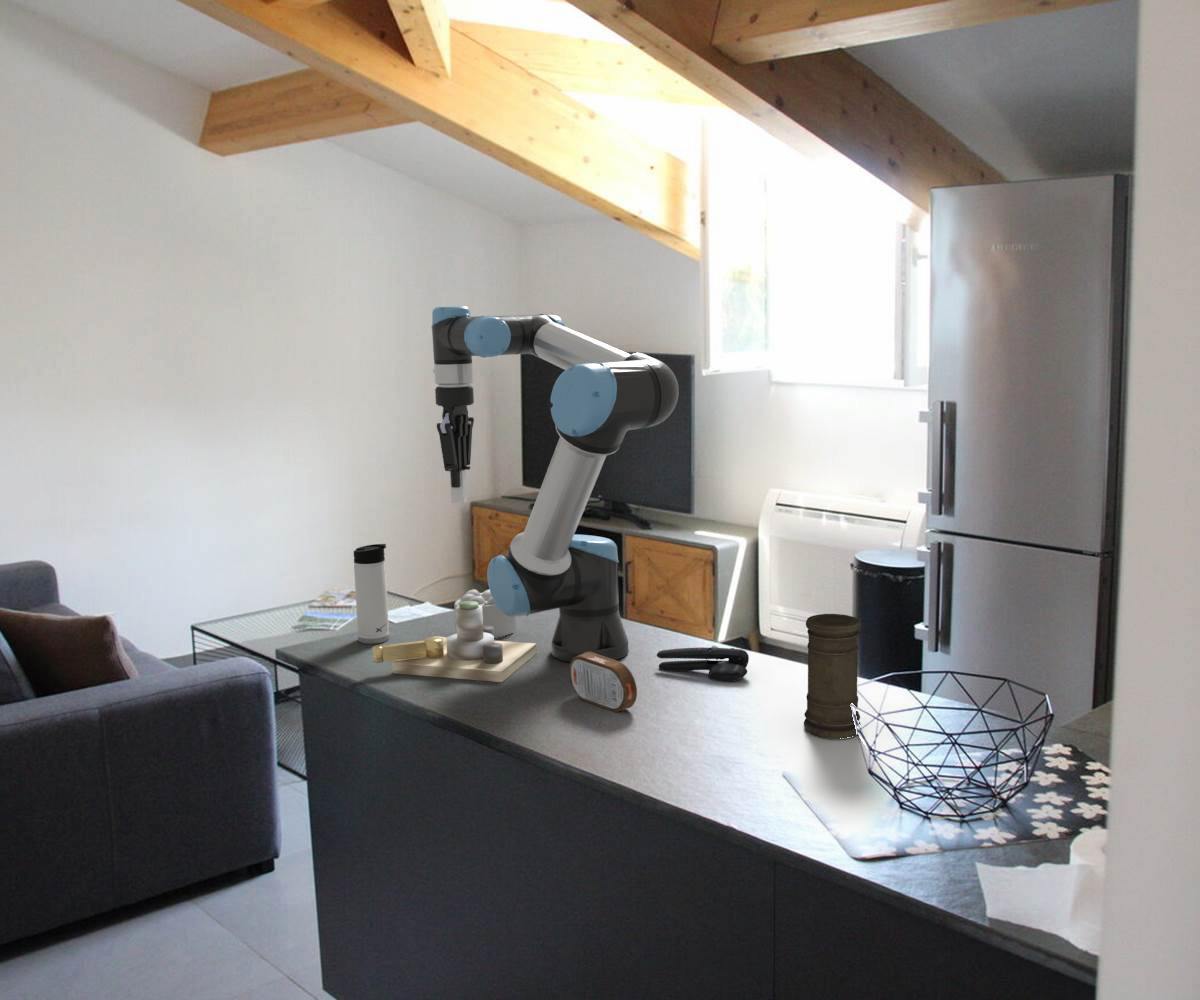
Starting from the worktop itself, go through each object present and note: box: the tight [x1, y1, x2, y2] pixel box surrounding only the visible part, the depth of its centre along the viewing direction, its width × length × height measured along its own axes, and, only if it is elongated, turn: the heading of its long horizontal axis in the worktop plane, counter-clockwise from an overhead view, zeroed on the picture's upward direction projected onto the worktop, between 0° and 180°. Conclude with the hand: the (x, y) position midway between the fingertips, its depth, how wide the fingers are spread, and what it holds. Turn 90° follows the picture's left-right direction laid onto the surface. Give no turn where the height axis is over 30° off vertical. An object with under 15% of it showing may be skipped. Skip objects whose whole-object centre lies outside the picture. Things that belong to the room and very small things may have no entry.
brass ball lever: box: [372, 636, 444, 664], centre depth 219 cm, size 13×4×3 cm, turn 110°
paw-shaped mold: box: [453, 589, 518, 639], centre depth 242 cm, size 10×13×9 cm
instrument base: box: [391, 601, 538, 683], centre depth 222 cm, size 22×18×12 cm
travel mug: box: [353, 543, 390, 645], centre depth 238 cm, size 6×7×20 cm
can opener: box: [656, 645, 750, 683], centre depth 213 cm, size 18×7×6 cm, turn 65°
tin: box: [568, 652, 638, 713], centre depth 198 cm, size 15×3×8 cm, turn 41°
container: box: [803, 613, 862, 740], centre depth 183 cm, size 9×9×18 cm
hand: (459, 502), depth 234 cm, fingers closed
